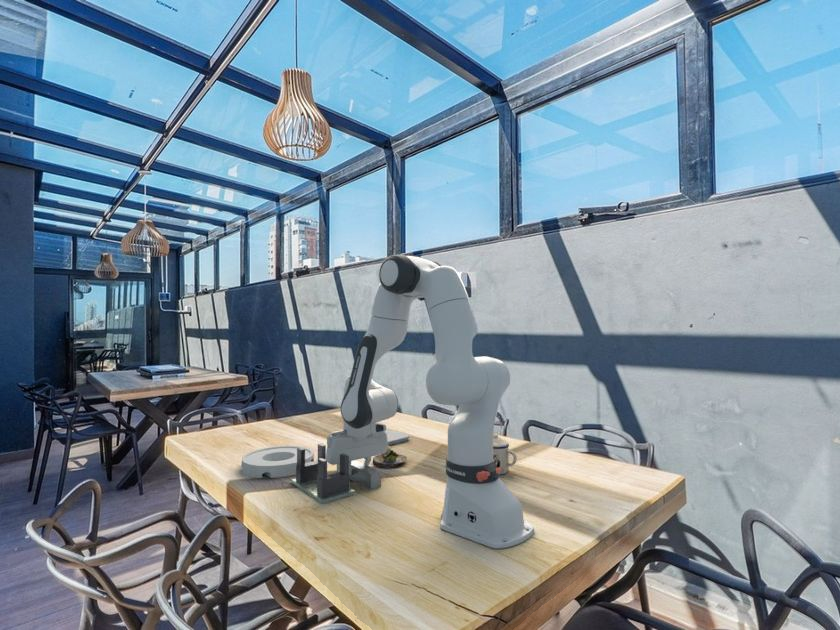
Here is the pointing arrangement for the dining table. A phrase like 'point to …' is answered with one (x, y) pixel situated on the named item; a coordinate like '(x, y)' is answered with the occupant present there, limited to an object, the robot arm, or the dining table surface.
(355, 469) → the rail
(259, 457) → the ashtray
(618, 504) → the dining table surface
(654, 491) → the dining table surface
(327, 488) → the bracket stand
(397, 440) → the tablet
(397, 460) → the burger
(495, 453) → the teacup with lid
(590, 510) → the dining table surface
